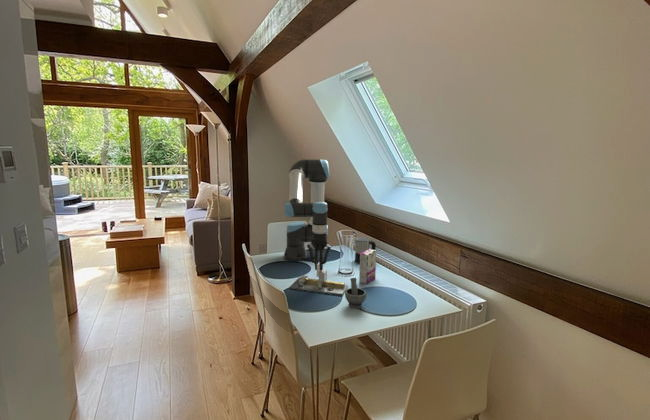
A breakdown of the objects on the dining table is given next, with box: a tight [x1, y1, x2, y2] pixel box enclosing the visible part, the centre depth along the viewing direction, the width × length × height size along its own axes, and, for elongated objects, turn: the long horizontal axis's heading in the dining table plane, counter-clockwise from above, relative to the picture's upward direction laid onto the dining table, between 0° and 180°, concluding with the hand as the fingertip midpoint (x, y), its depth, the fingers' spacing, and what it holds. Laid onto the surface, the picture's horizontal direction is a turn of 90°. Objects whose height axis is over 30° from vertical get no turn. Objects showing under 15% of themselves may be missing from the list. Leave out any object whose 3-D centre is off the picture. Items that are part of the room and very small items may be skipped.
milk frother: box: [354, 237, 377, 264], centre depth 229 cm, size 14×16×15 cm
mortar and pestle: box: [344, 277, 367, 310], centre depth 162 cm, size 11×9×12 cm
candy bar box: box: [358, 248, 377, 285], centre depth 192 cm, size 11×5×16 cm, turn 147°
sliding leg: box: [317, 268, 328, 288], centre depth 182 cm, size 8×3×7 cm, turn 163°
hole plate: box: [289, 278, 349, 297], centre depth 182 cm, size 12×28×1 cm, turn 73°
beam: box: [297, 275, 346, 288], centre depth 182 cm, size 7×25×3 cm, turn 73°
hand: (318, 275), depth 184 cm, fingers closed
